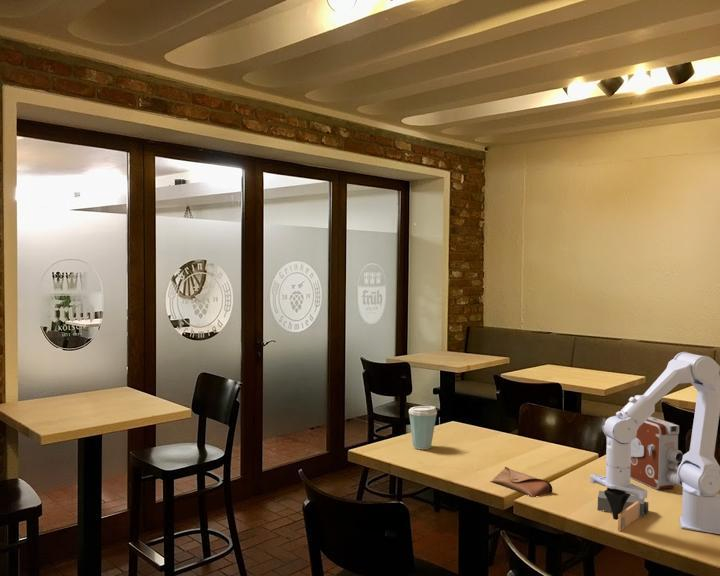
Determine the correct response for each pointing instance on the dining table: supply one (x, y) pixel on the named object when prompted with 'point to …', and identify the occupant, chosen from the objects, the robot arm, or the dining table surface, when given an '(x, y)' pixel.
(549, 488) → the sunglasses case
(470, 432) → the dining table surface
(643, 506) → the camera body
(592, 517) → the dining table surface
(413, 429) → the disposable coffee cup
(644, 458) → the cine camera
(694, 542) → the dining table surface
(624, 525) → the side door
